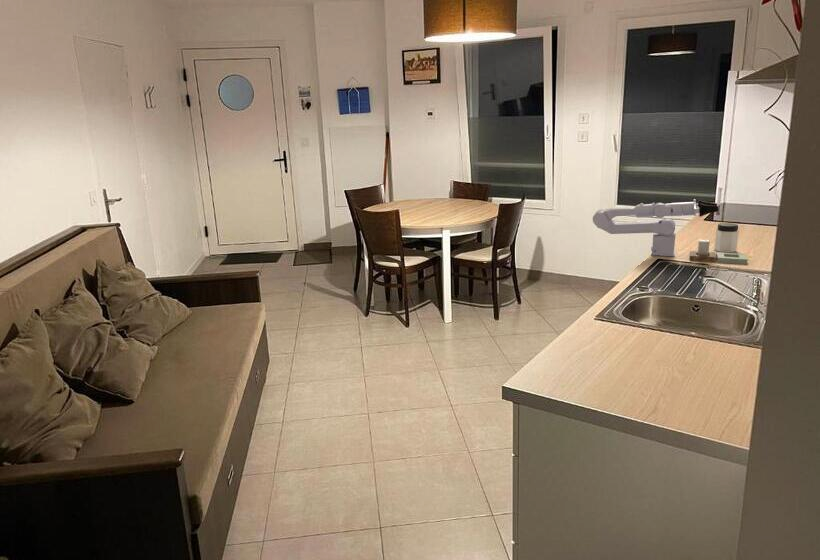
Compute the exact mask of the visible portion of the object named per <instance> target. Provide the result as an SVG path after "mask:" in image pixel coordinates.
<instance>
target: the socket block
mask: <svg viewBox="0 0 820 560" xmlns="http://www.w3.org/2000/svg"><path fill="white" fill-rule="evenodd" d="M697 254H698V250H689V255H690V256H689V261H691V260H692V261H695V262H708V263H709V262H710V263H711V262H712V263H716V262H717V259H716V251H715V252H714V251H709V253H708V256H705V255H697Z"/></svg>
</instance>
